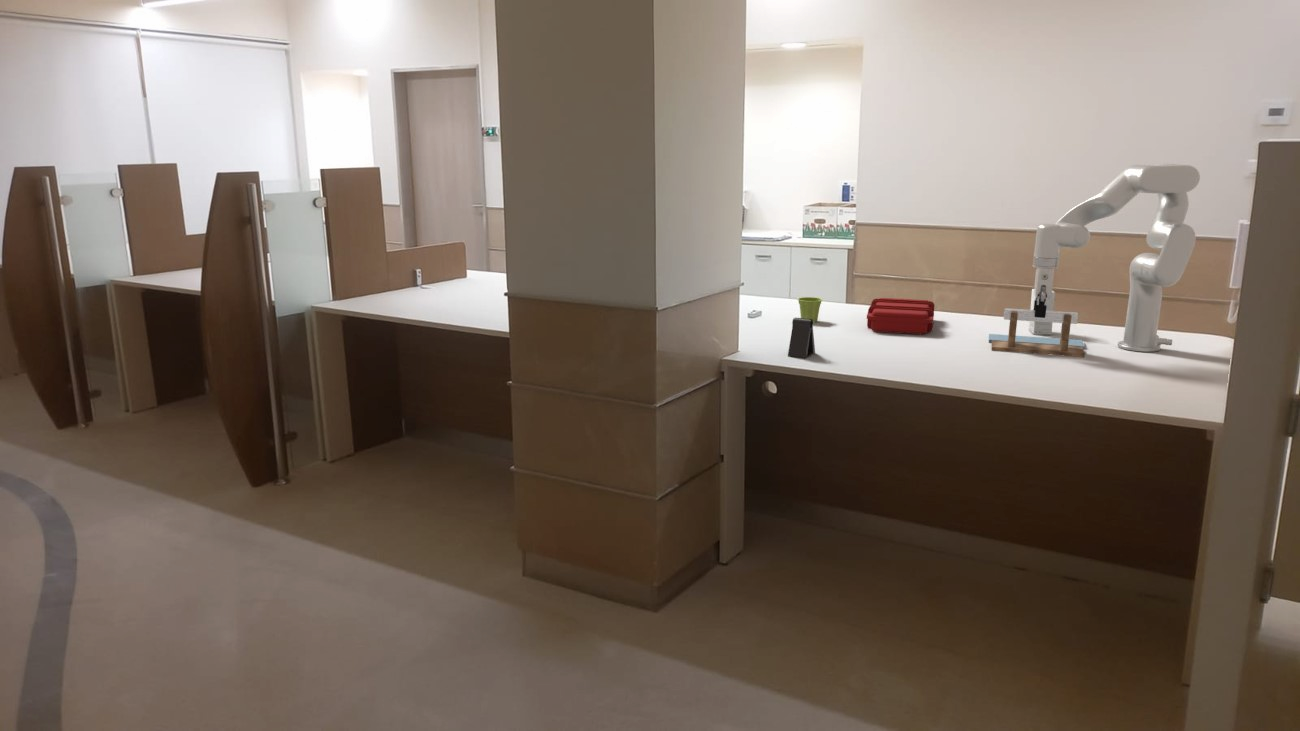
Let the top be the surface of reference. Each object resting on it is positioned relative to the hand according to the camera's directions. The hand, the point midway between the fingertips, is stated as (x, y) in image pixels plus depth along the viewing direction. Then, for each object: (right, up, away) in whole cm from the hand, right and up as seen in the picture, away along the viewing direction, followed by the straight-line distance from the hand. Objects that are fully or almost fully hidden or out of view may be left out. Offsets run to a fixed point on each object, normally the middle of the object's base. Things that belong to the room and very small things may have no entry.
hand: (1039, 314), depth 294 cm
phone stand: (-78, -13, -1) cm, 79 cm away
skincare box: (+13, -5, +30) cm, 33 cm away
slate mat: (+5, -9, +14) cm, 17 cm away
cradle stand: (+1, -12, +3) cm, 12 cm away
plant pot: (-66, 0, +51) cm, 84 cm away
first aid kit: (-34, -2, +43) cm, 54 cm away
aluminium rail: (0, -2, +1) cm, 2 cm away
